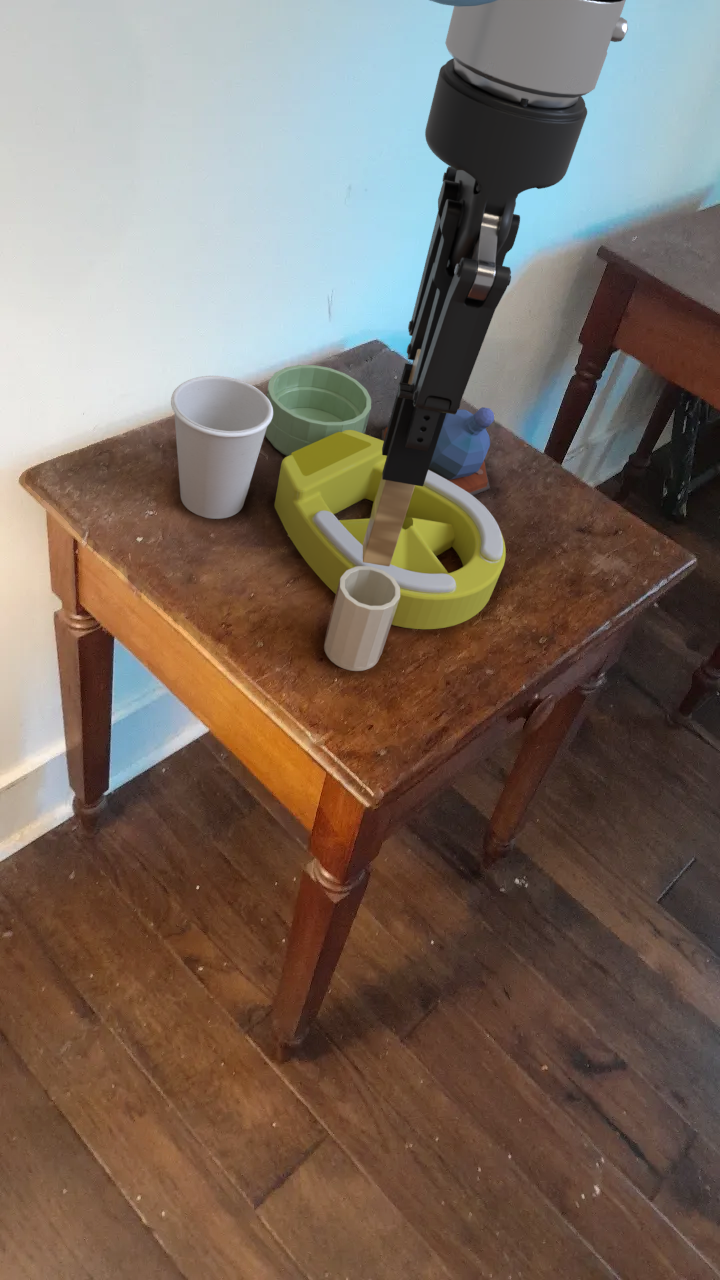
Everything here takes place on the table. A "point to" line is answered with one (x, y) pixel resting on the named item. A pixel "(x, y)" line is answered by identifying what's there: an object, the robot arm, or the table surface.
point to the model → (463, 449)
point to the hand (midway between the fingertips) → (402, 466)
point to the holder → (361, 617)
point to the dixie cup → (218, 442)
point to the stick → (387, 514)
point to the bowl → (314, 406)
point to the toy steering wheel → (431, 526)
